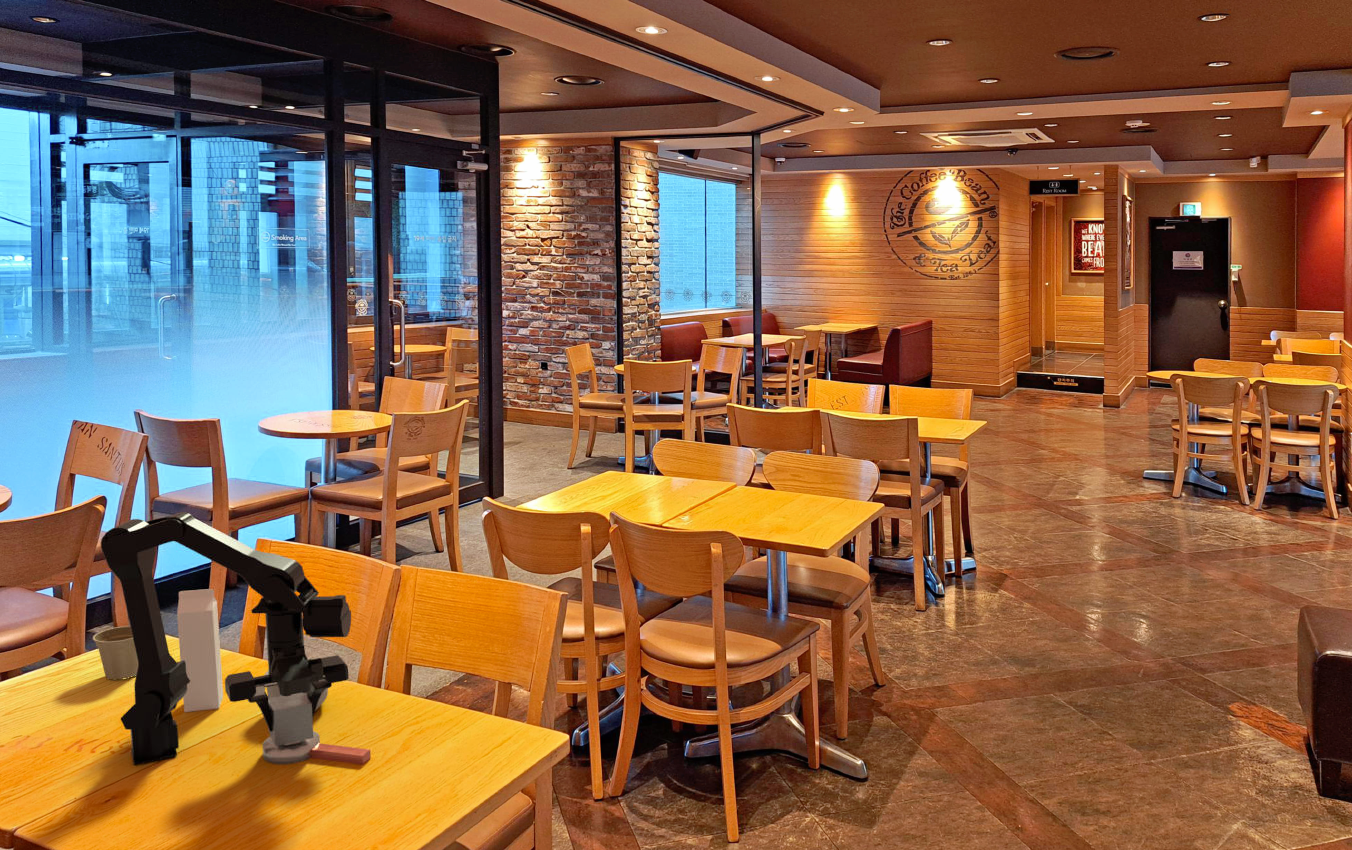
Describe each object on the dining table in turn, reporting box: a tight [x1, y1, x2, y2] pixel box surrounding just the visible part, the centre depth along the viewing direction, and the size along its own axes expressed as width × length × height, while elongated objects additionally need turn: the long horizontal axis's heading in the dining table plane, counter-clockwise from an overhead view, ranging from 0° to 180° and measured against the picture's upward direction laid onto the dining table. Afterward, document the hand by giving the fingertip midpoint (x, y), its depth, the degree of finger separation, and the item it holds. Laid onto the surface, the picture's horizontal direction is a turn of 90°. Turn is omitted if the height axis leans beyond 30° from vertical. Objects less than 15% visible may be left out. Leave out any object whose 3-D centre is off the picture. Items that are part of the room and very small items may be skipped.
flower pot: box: [92, 625, 138, 680], centre depth 213 cm, size 9×9×9 cm
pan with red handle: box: [262, 730, 372, 765], centre depth 178 cm, size 18×9×5 cm, turn 76°
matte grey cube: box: [268, 693, 314, 746], centre depth 179 cm, size 6×6×6 cm
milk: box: [176, 588, 224, 713], centre depth 198 cm, size 6×6×22 cm
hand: (290, 726), depth 179 cm, fingers closed on matte grey cube, 6 cm apart
